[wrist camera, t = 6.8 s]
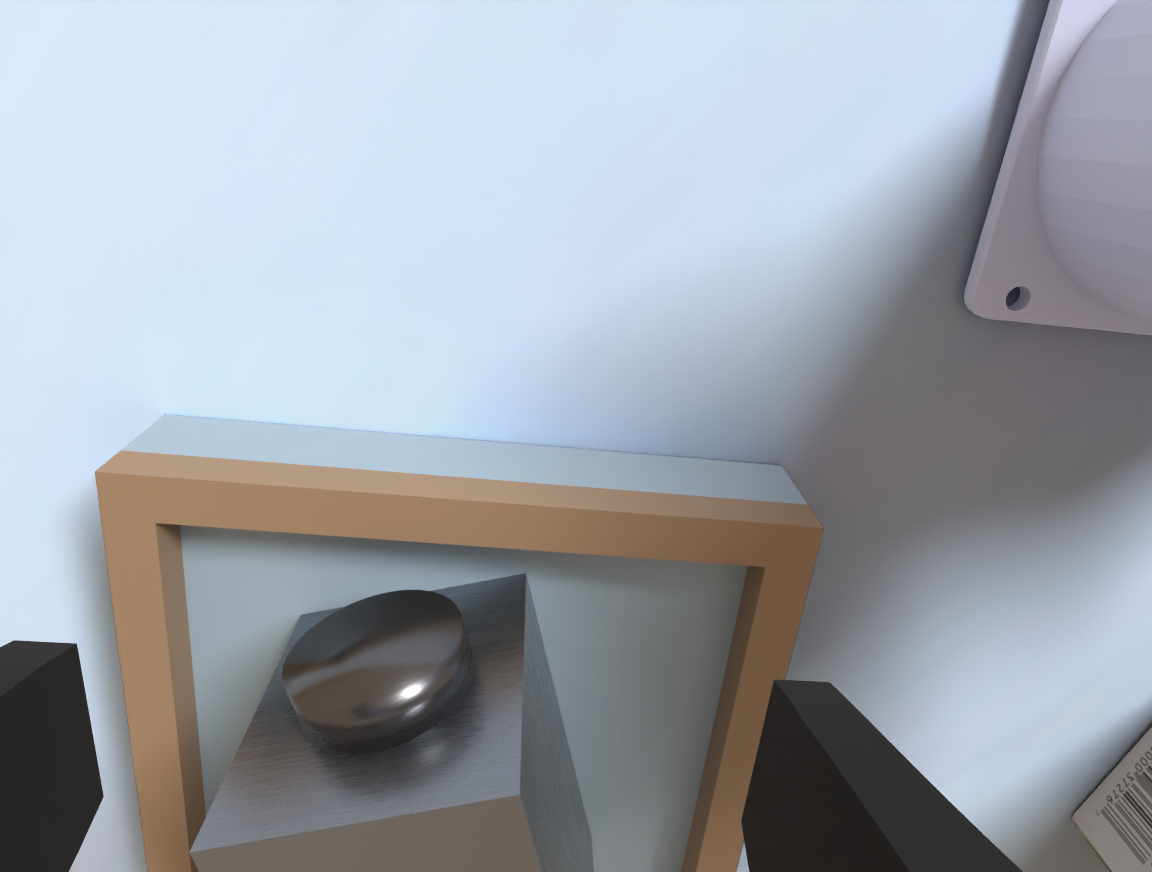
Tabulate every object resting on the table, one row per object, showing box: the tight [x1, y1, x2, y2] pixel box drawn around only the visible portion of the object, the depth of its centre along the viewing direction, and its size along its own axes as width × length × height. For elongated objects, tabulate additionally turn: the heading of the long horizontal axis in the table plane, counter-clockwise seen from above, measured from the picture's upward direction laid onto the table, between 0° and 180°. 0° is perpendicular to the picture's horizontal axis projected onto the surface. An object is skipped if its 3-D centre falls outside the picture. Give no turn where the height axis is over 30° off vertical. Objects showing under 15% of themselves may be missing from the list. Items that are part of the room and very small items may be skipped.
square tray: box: [95, 414, 824, 872], centre depth 19 cm, size 14×14×3 cm
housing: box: [189, 573, 594, 872], centre depth 16 cm, size 9×5×6 cm, turn 11°
